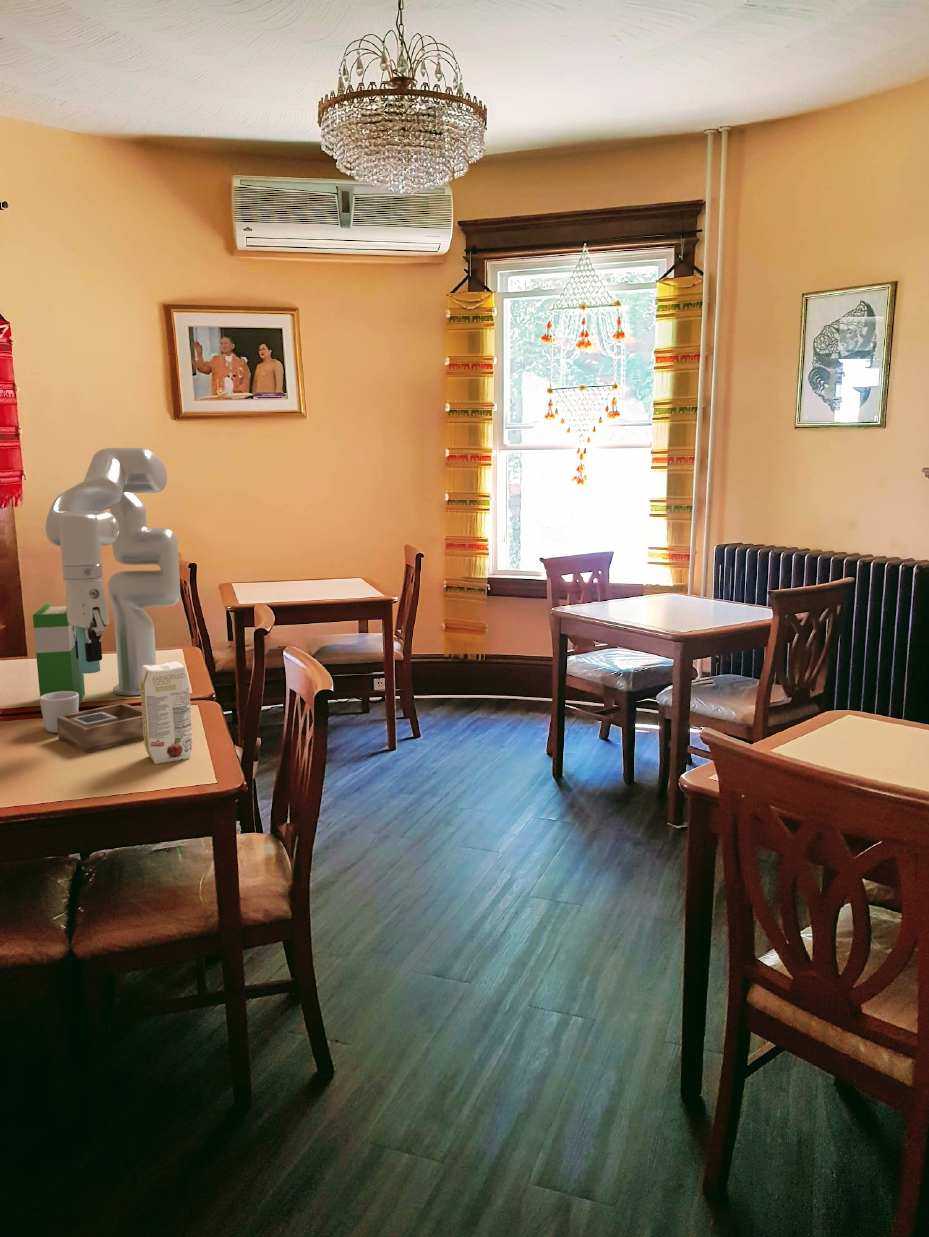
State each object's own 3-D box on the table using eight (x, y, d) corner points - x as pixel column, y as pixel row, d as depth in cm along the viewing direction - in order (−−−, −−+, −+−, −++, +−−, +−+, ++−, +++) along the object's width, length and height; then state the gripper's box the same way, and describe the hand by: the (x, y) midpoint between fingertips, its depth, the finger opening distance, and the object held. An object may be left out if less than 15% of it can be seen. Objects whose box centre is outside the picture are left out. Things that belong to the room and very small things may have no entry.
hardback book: (53, 696, 223) (45, 604, 219) (85, 694, 225) (77, 602, 221) (41, 714, 206) (32, 615, 202) (75, 712, 208) (67, 613, 204)
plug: (95, 668, 186) (91, 622, 185) (103, 671, 184) (100, 624, 182) (76, 671, 183) (72, 624, 182) (84, 674, 181) (81, 627, 179)
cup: (31, 727, 196) (28, 693, 194) (67, 720, 201) (64, 687, 200) (51, 737, 188) (48, 702, 187) (87, 729, 194) (84, 695, 193)
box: (125, 724, 198) (123, 702, 197) (155, 736, 189) (154, 714, 188) (58, 738, 187) (56, 716, 186) (87, 753, 178) (85, 729, 177)
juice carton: (195, 758, 174) (190, 666, 171) (151, 766, 170) (145, 672, 167) (185, 748, 181) (180, 659, 177) (142, 756, 176) (136, 664, 173)
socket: (104, 729, 191) (102, 711, 190) (118, 735, 186) (117, 717, 186) (72, 736, 186) (70, 718, 185) (86, 743, 181) (85, 724, 181)
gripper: (118, 574, 177) (125, 662, 180) (83, 569, 188) (89, 651, 191) (82, 577, 172) (89, 668, 175) (47, 571, 183) (54, 656, 186)
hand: (89, 658), depth 183 cm, fingers closed on plug, 4 cm apart
